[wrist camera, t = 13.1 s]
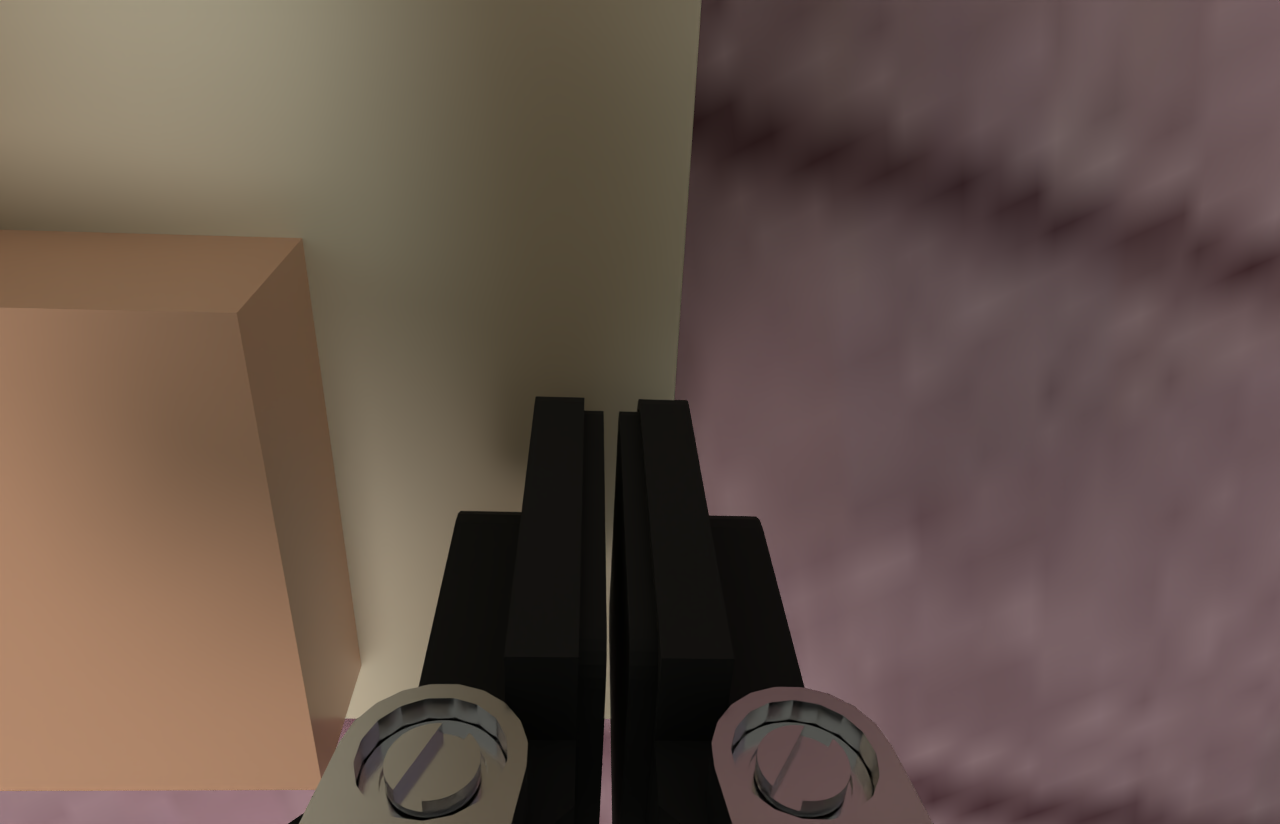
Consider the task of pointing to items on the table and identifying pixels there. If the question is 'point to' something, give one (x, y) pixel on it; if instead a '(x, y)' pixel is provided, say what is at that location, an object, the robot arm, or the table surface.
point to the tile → (166, 518)
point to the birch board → (393, 223)
